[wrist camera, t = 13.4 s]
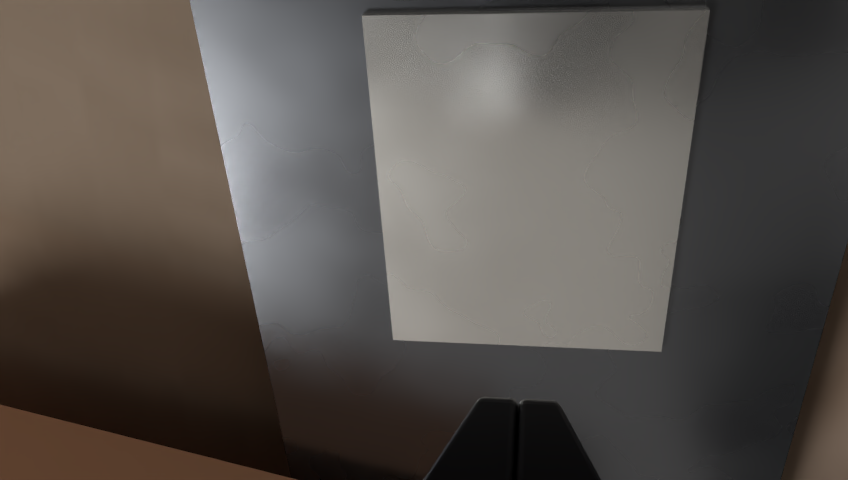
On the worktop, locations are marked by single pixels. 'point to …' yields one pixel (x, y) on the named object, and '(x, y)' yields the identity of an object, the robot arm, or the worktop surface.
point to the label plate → (536, 220)
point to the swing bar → (99, 454)
